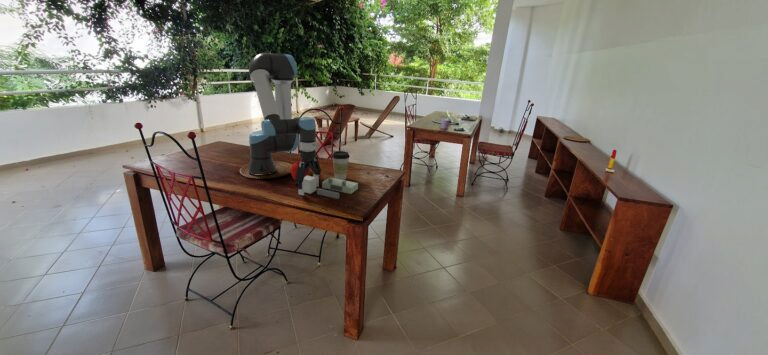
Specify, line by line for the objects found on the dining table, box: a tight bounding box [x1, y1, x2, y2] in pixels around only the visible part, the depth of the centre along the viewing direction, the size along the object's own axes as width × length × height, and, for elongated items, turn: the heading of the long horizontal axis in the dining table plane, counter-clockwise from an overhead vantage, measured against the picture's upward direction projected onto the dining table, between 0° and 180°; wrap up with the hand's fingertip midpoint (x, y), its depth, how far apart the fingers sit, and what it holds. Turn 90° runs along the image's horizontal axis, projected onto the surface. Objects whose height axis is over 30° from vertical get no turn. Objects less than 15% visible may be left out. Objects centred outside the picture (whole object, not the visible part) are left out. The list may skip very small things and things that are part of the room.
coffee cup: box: [331, 150, 350, 181], centre depth 185 cm, size 10×10×15 cm
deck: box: [316, 177, 359, 200], centre depth 169 cm, size 17×17×6 cm
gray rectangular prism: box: [303, 175, 317, 195], centre depth 167 cm, size 6×6×7 cm
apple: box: [290, 160, 311, 181], centre depth 176 cm, size 10×10×12 cm
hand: (308, 190), depth 168 cm, fingers open, 12 cm apart
